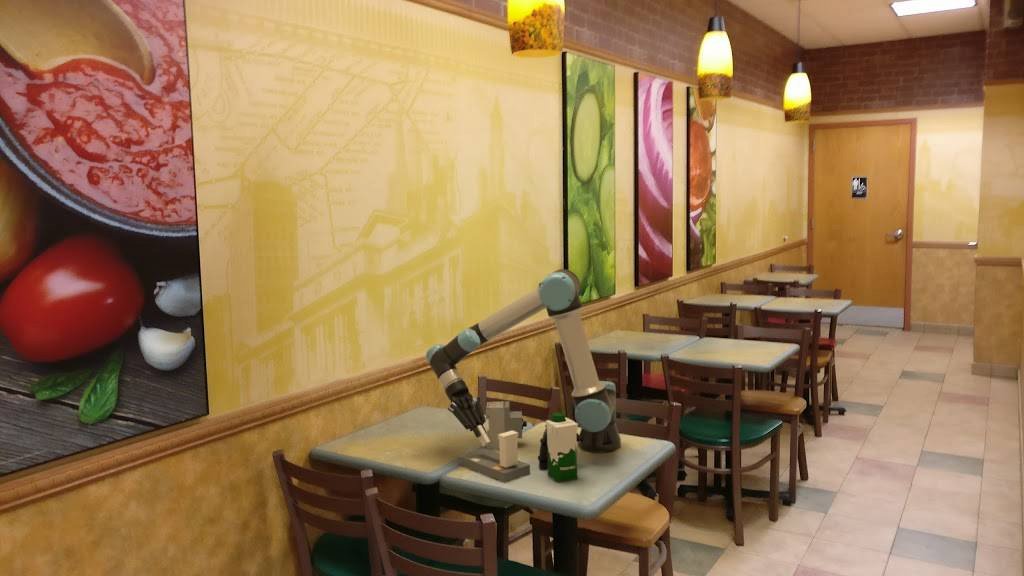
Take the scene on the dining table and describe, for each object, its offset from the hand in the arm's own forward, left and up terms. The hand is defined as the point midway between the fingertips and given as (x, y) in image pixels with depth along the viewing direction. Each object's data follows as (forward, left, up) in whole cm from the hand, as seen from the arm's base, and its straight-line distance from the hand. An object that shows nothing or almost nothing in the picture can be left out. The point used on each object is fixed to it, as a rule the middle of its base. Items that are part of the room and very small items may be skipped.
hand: (486, 444), depth 263 cm
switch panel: (-3, +1, -8) cm, 9 cm away
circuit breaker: (+5, -22, -8) cm, 24 cm away
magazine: (-21, -10, -8) cm, 25 cm away
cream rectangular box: (-10, +3, -4) cm, 11 cm away
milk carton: (-26, -2, -8) cm, 28 cm away
